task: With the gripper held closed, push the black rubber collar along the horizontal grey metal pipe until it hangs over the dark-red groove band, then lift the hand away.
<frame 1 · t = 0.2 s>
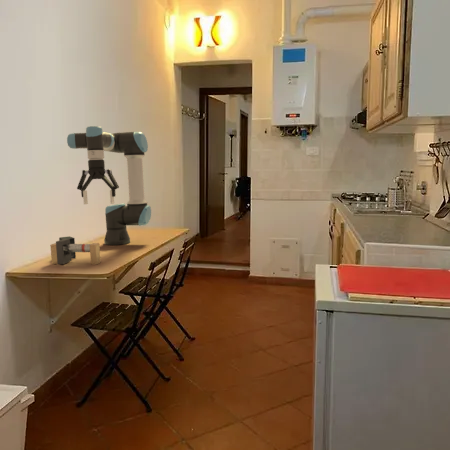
hand: (99, 203, 227), 28 cm above the table, fingers open, 13 cm apart
box: (68, 258, 241), on the table
collar: (63, 249, 226), point 7 cm above the table, touching pipe
pipe: (76, 263, 226), on the table
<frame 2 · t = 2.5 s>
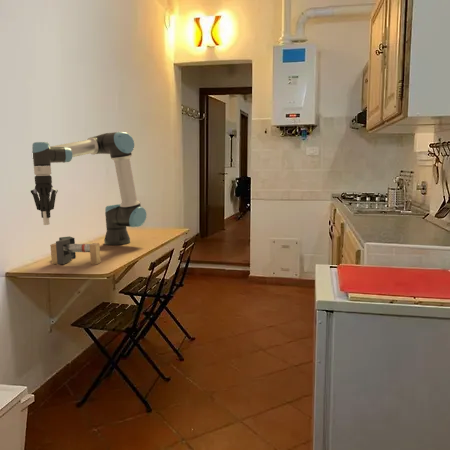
hand: (46, 224, 225), 19 cm above the table, fingers closed
nothing on the table moved.
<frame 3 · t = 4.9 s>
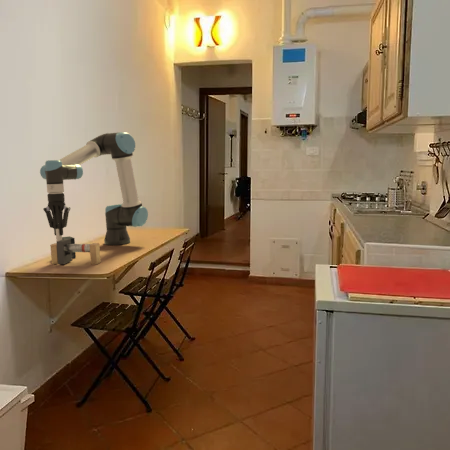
hand: (59, 242, 226), 10 cm above the table, fingers closed
collar: (64, 249, 226), point 7 cm above the table, touching gripper, pipe
everything else where it was.
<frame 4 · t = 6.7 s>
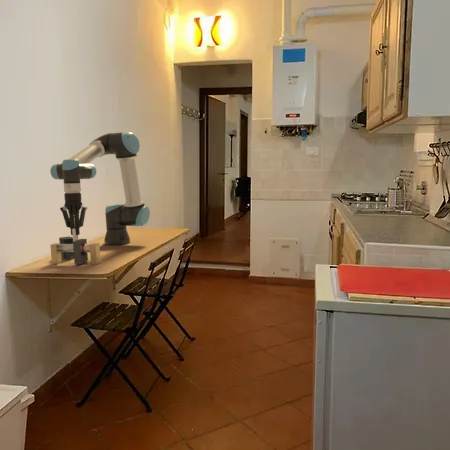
hand: (75, 241, 224), 11 cm above the table, fingers closed
collar: (80, 249, 224), point 7 cm above the table, touching gripper, pipe
everything else where it was.
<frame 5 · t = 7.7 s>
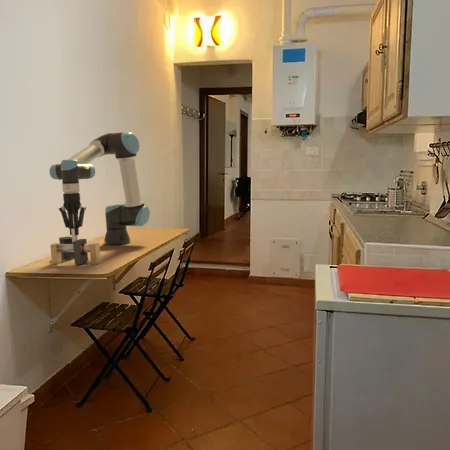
hand: (75, 242, 225), 10 cm above the table, fingers closed
collar: (80, 249, 224), point 7 cm above the table, touching pipe
everything else where it was.
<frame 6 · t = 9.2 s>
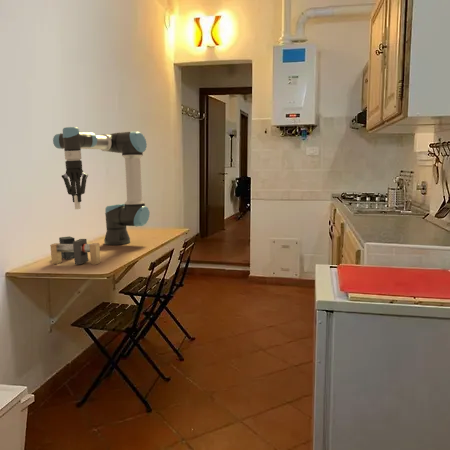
hand: (77, 208, 229), 26 cm above the table, fingers closed
nothing on the table moved.
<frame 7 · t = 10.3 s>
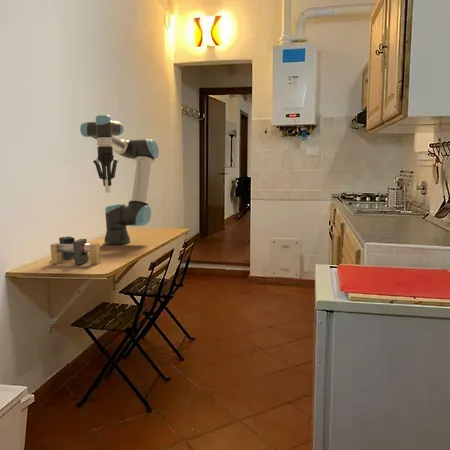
hand: (107, 192, 244), 32 cm above the table, fingers closed
nothing on the table moved.
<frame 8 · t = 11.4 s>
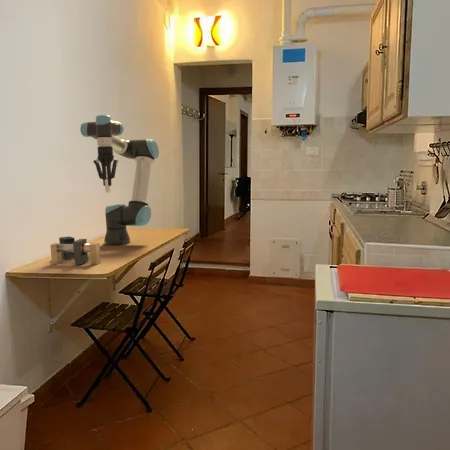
hand: (107, 192, 244), 32 cm above the table, fingers closed
nothing on the table moved.
at the end: collar 2.5 cm from the target spot on the pipe, point 6.8 cm above the pipe's base; collar tilted 1° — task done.
